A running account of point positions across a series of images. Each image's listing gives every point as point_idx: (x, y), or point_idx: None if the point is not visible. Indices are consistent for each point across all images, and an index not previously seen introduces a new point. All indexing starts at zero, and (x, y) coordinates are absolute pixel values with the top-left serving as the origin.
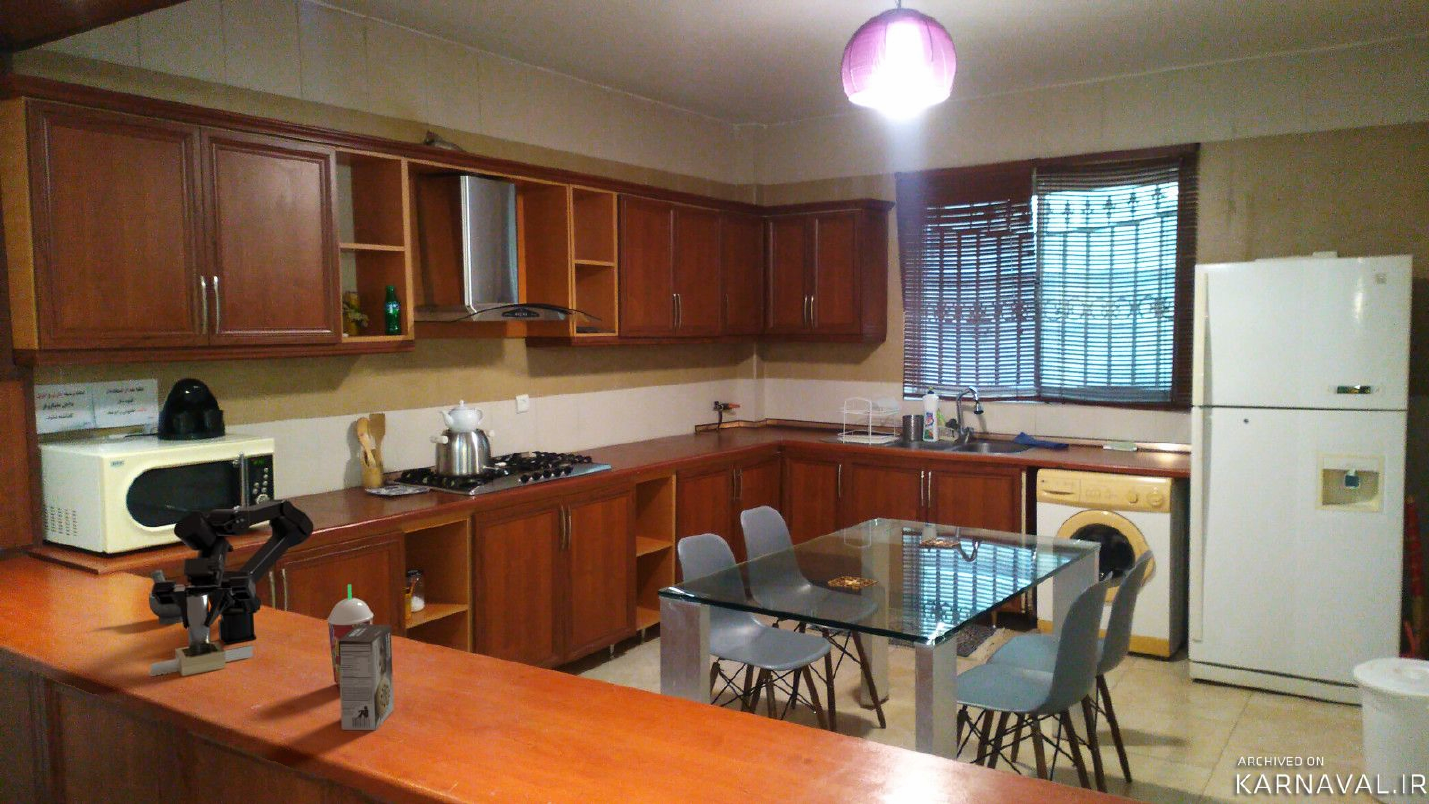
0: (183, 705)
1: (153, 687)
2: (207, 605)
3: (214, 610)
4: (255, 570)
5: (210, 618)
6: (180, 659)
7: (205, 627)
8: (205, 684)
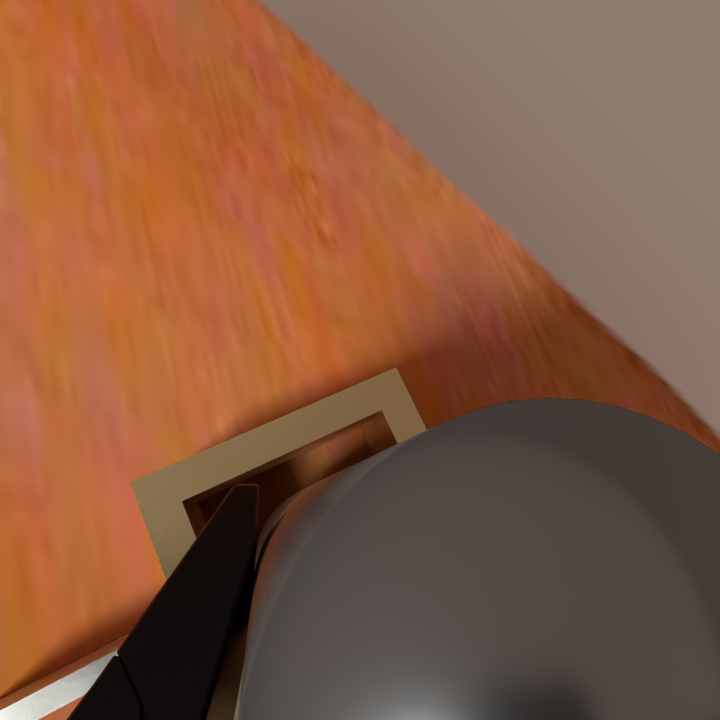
0: (250, 24)
1: (456, 271)
2: (250, 618)
3: (135, 627)
4: None
5: (209, 529)
6: (408, 396)
7: (278, 515)
8: (216, 241)
